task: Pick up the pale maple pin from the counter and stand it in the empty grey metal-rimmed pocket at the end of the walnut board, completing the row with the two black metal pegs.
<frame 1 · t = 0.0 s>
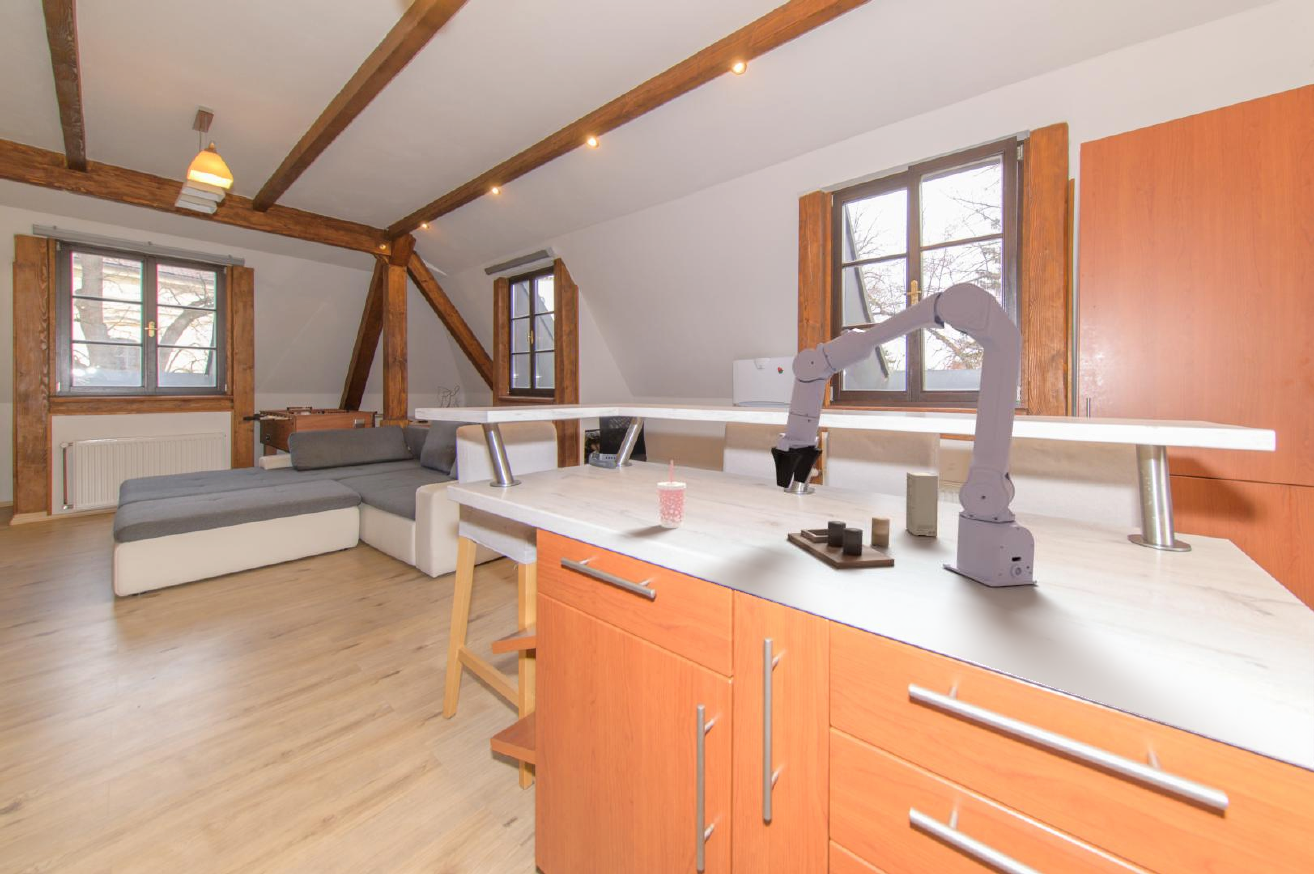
hand: (791, 484, 96), 11 cm above the counter, tool pointing down, fingers open, 7 cm apart
skincare box: (920, 533, 102), on the counter
pin board: (836, 550, 88), on the counter
beverage cup: (671, 526, 107), on the counter
maple pin: (879, 545, 92), on the counter
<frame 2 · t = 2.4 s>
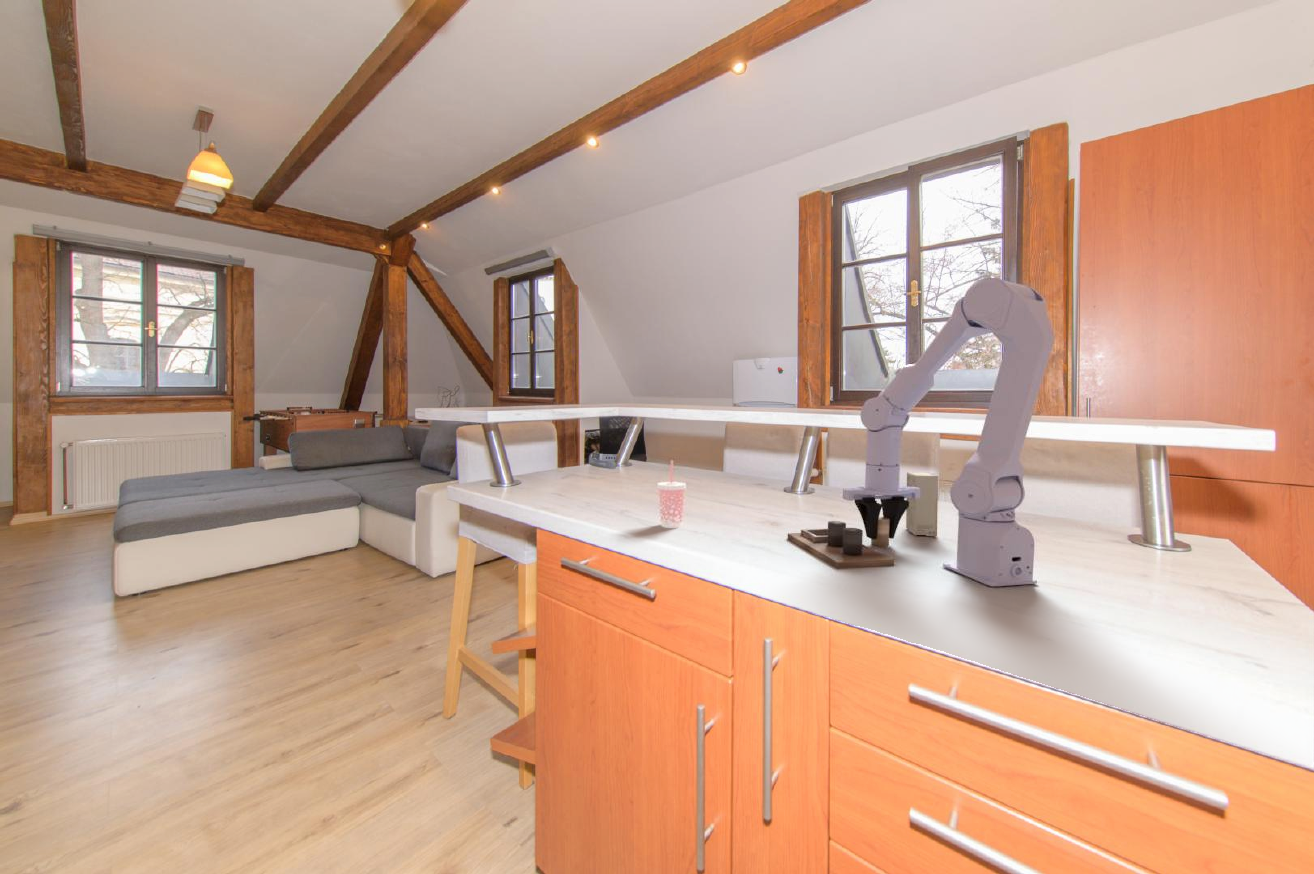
hand: (880, 537, 92), 1 cm above the counter, tool pointing down, fingers closed on maple pin, 3 cm apart
maple pin: (879, 545, 92), on the counter, touching gripper
everything else where it was.
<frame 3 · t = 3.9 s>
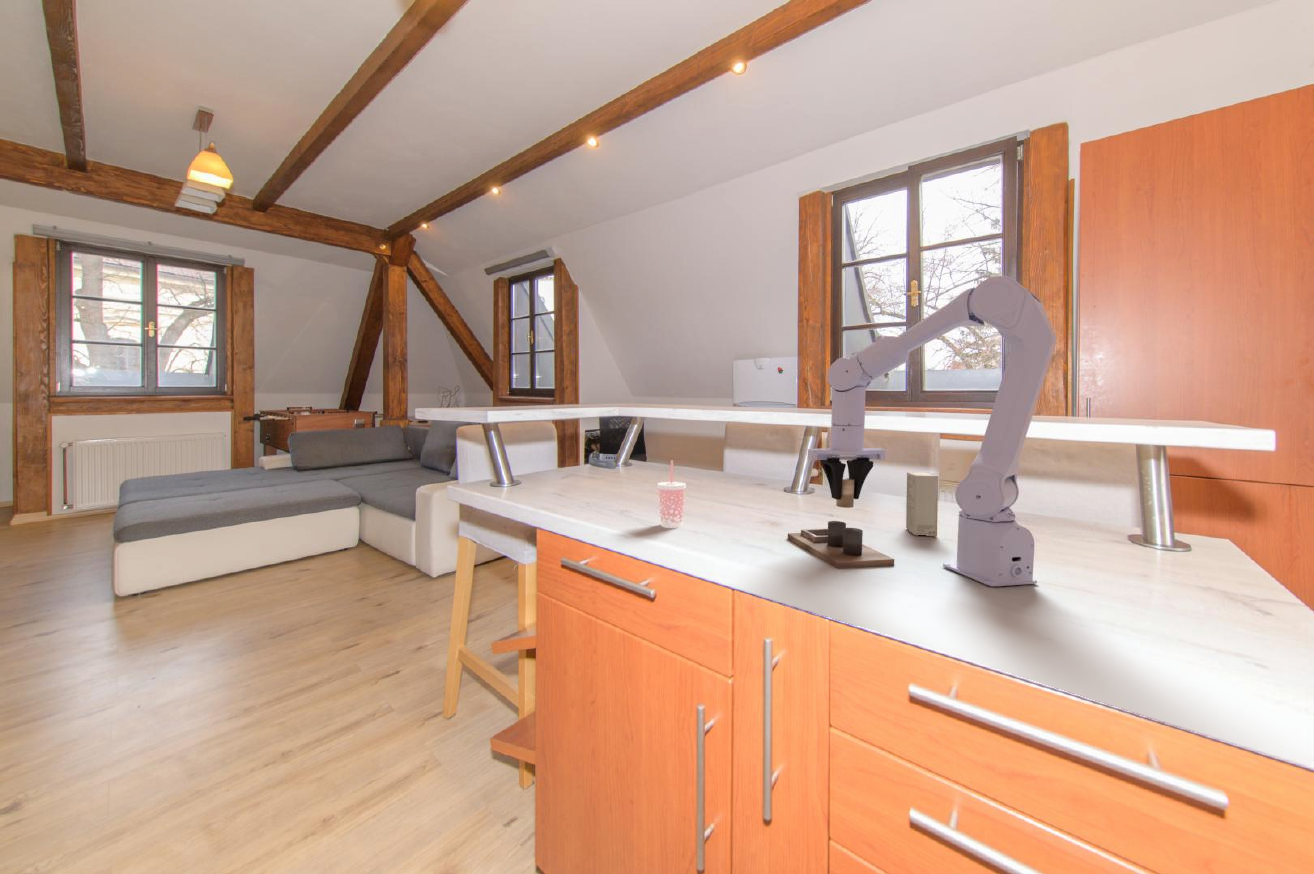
hand: (845, 498, 93), 9 cm above the counter, tool pointing down, fingers closed on maple pin, 3 cm apart
maple pin: (844, 506, 93), point 7 cm above the counter, touching gripper
everything else where it was.
when the fingers open (4 cm above the counter, at t = 5.3 s): maple pin drops 1 cm, resting on pin board.
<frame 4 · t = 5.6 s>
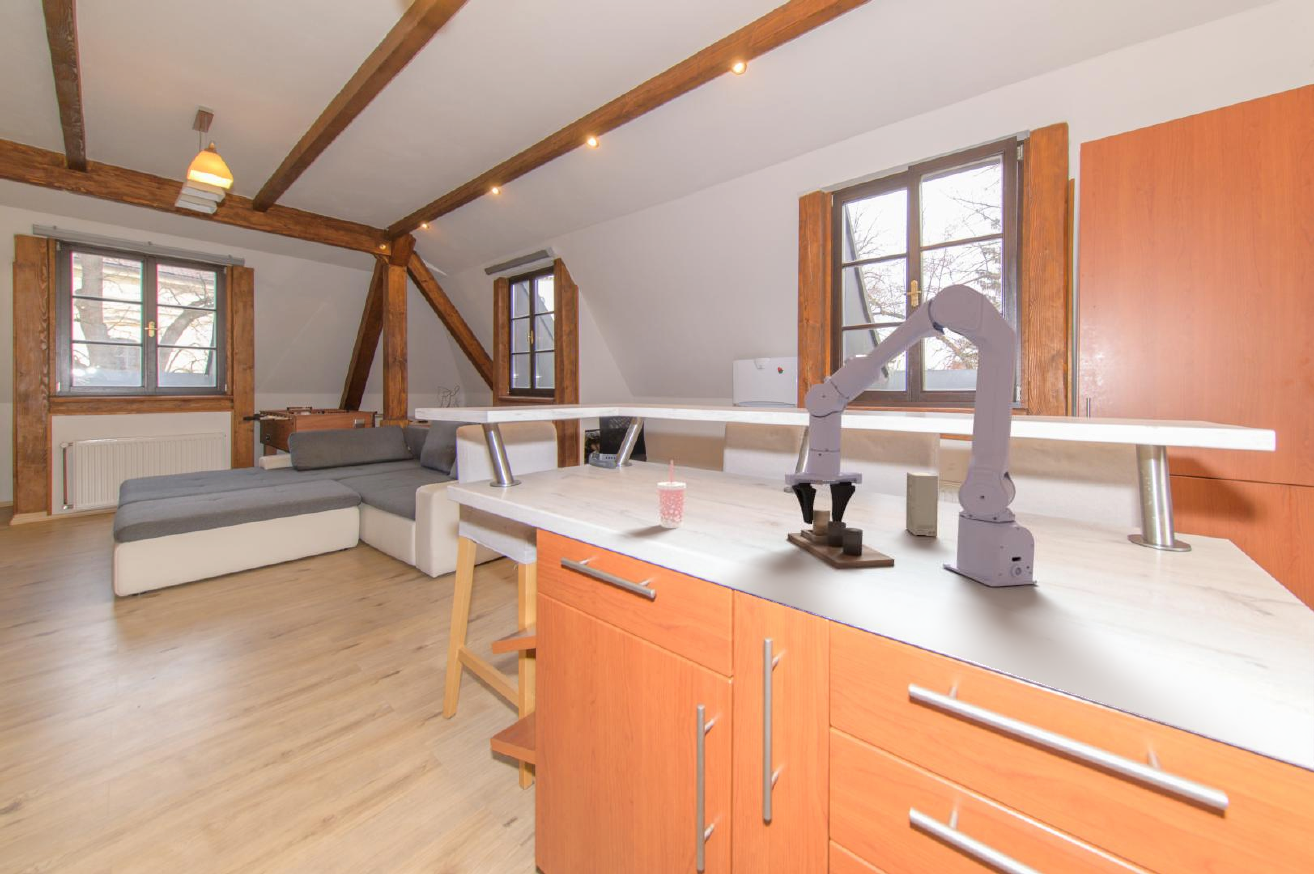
hand: (822, 522, 93), 4 cm above the counter, tool pointing down, fingers open, 5 cm apart
maple pin: (821, 537, 93), point 1 cm above the counter, touching pin board
everything else where it was.
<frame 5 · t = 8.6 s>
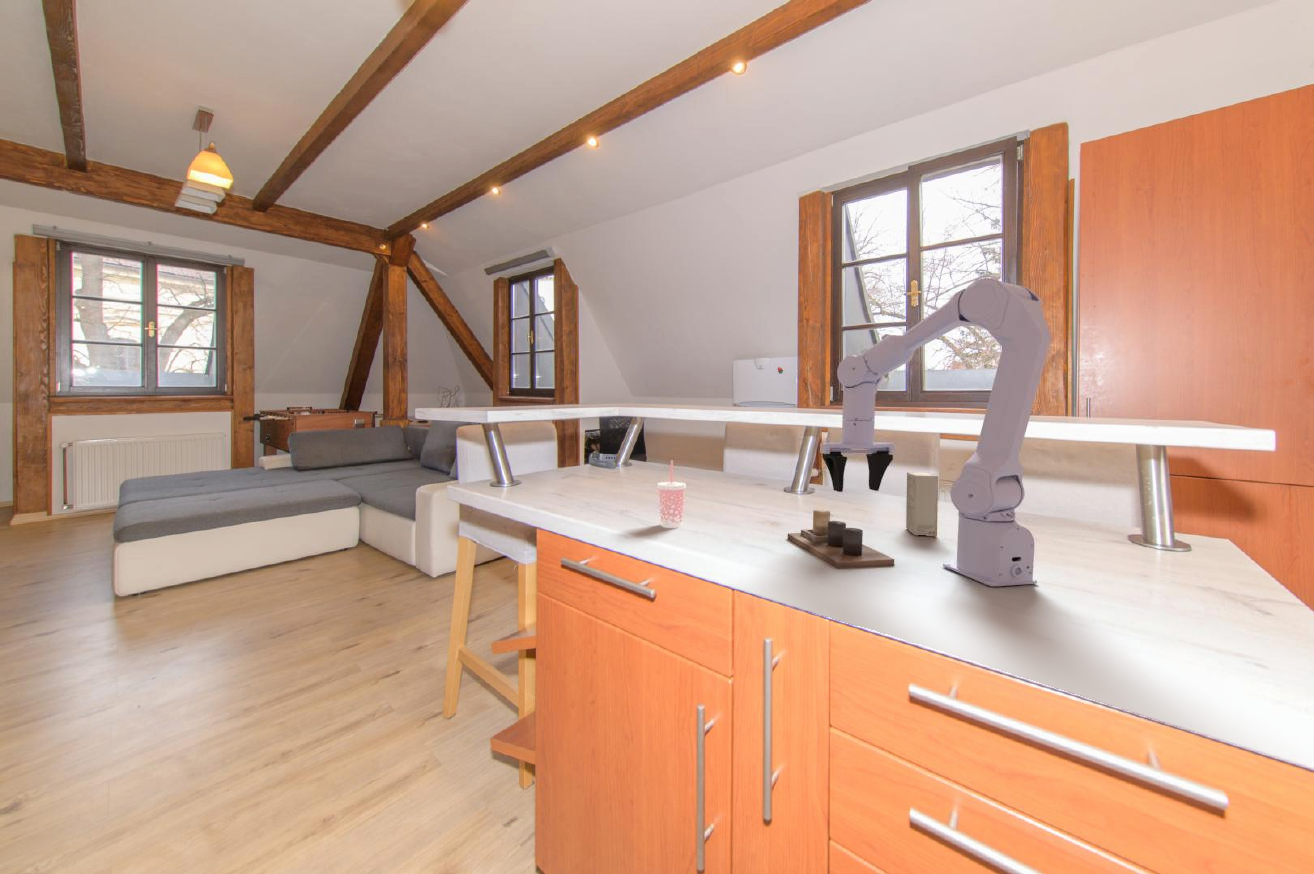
hand: (856, 490, 96), 9 cm above the counter, tool pointing down, fingers open, 7 cm apart
nothing on the counter moved.
at the end: maple pin 0.1 cm from the target spot on the pin board, point 1.0 cm above the pin board's base; maple pin tilted 1°; the gripper is holding nothing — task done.
